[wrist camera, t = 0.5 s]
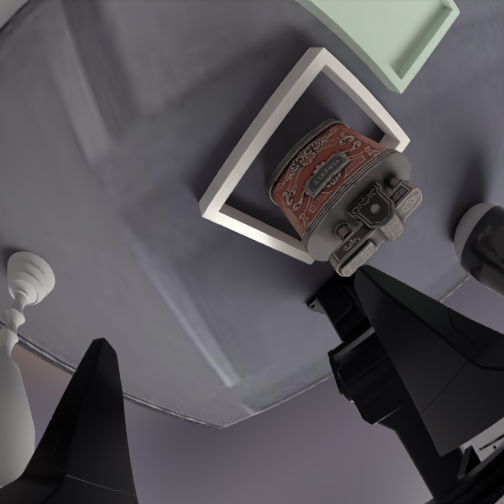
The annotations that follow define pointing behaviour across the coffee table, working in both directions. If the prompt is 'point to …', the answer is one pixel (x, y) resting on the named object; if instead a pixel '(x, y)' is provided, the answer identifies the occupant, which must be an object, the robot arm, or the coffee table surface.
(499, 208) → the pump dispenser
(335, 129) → the lighter
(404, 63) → the tray
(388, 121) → the white picture frame
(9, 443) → the chalice
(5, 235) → the coffee table surface
